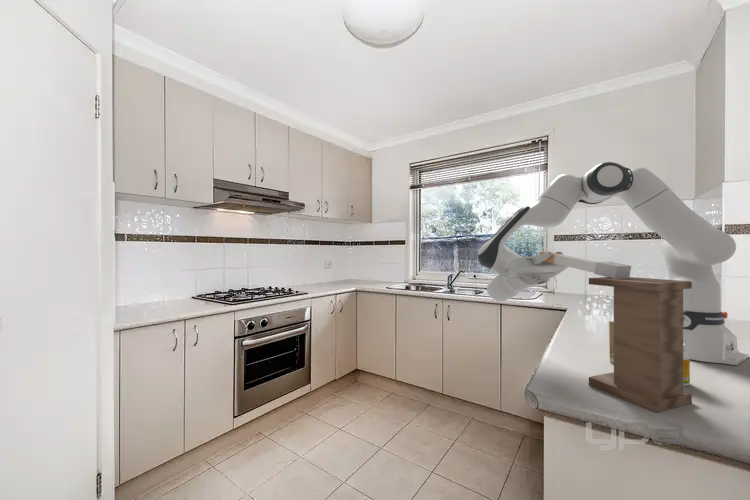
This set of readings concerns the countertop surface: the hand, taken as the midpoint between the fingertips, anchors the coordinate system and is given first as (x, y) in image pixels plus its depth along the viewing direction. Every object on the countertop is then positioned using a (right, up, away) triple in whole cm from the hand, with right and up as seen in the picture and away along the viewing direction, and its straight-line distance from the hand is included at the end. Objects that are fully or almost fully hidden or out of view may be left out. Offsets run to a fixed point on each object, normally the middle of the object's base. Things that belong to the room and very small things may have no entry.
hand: (555, 253), depth 93 cm
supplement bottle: (+22, -32, -13) cm, 41 cm away
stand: (+7, -32, -20) cm, 38 cm away
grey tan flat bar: (+2, -4, -6) cm, 8 cm away
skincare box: (+19, -32, 0) cm, 37 cm away
